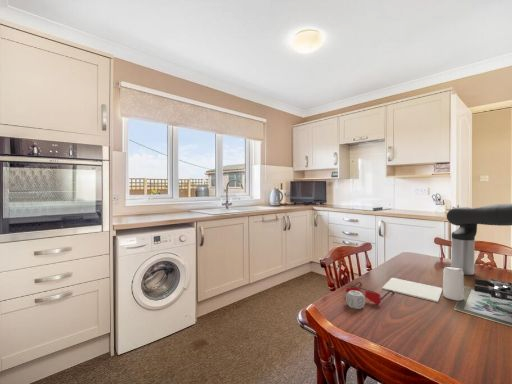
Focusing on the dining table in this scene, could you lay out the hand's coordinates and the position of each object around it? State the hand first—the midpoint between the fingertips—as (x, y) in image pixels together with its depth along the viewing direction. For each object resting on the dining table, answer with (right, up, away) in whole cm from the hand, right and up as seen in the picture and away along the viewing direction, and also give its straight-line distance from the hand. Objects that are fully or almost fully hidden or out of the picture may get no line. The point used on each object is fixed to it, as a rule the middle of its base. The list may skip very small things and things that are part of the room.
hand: (474, 284), depth 98 cm
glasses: (-36, -8, +8) cm, 38 cm away
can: (-5, -7, +4) cm, 10 cm away
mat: (-16, -7, +13) cm, 22 cm away
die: (-46, -8, -1) cm, 47 cm away
